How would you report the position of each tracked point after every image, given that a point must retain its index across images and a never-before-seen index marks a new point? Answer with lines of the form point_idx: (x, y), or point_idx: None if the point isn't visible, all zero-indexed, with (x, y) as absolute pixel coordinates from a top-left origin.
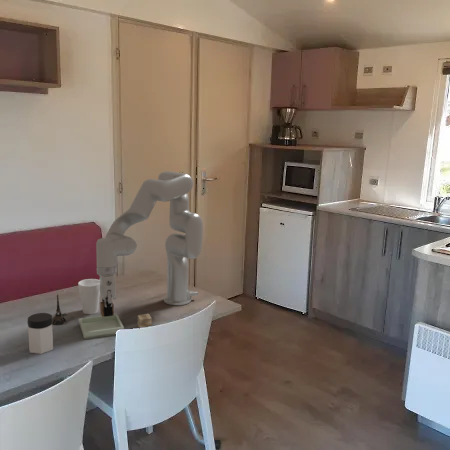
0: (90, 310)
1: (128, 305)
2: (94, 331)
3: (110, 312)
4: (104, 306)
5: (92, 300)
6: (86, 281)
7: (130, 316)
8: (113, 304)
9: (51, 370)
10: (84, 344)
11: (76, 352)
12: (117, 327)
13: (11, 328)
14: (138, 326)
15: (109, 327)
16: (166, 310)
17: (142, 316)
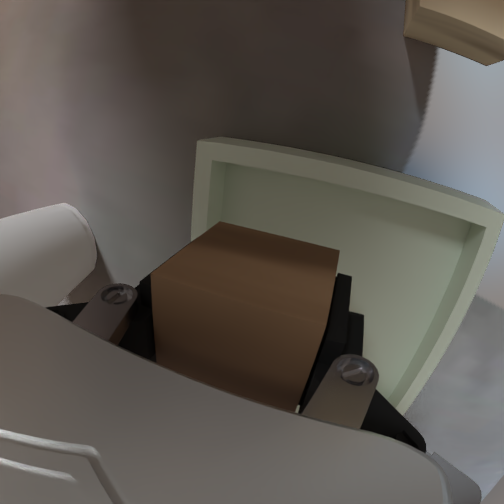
0: (84, 265)
1: (61, 31)
2: (416, 395)
3: (362, 325)
4: (295, 408)
5: (40, 287)
6: None
7: (205, 29)
8: (312, 322)
9: (485, 484)
10: (437, 413)
11: (466, 442)
12: (476, 259)
13: None
14: (427, 42)
15: (362, 260)
16: None
17: None
